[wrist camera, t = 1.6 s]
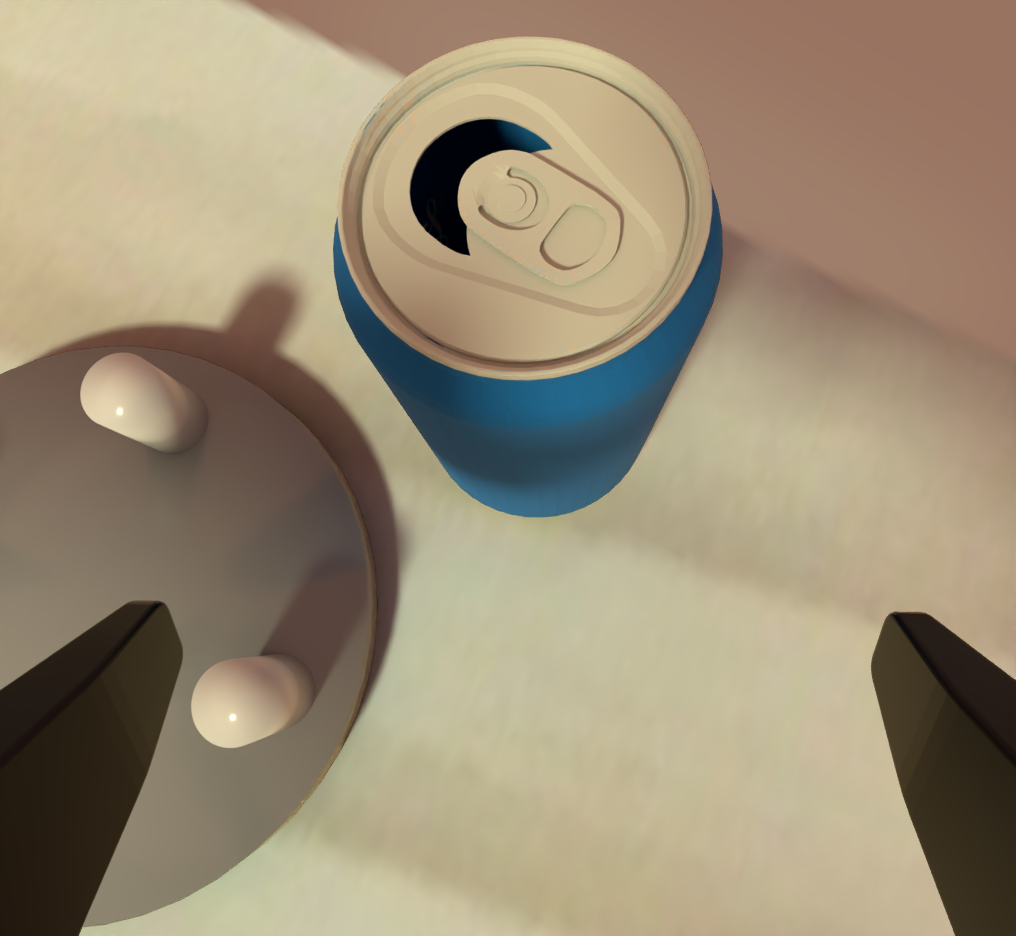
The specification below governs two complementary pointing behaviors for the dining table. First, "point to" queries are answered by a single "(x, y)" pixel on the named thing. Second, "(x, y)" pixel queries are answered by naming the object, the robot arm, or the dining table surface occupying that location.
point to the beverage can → (528, 263)
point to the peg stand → (189, 590)
